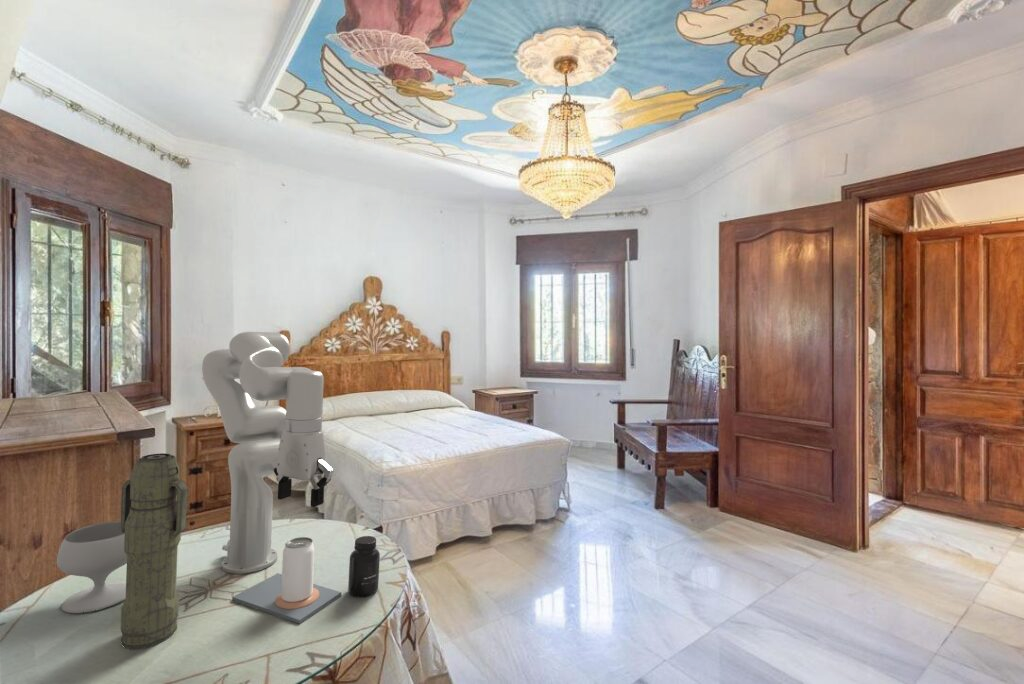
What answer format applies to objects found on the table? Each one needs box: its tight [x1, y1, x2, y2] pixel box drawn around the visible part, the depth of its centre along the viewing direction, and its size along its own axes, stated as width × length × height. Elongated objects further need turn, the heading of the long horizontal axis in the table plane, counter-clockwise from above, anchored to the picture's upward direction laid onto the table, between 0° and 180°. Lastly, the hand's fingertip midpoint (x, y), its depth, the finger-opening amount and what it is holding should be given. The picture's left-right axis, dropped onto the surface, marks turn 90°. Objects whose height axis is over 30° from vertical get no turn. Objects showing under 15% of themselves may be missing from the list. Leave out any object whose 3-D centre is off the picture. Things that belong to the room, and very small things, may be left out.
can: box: [281, 536, 315, 603], centre depth 106 cm, size 6×6×12 cm
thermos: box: [120, 453, 189, 650], centre depth 92 cm, size 9×12×35 cm
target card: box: [231, 572, 342, 625], centre depth 106 cm, size 20×12×1 cm, turn 68°
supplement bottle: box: [347, 535, 381, 598], centre depth 111 cm, size 7×7×12 cm
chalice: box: [56, 520, 127, 614], centre depth 103 cm, size 14×14×15 cm
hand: (300, 501), depth 106 cm, fingers open, 9 cm apart
